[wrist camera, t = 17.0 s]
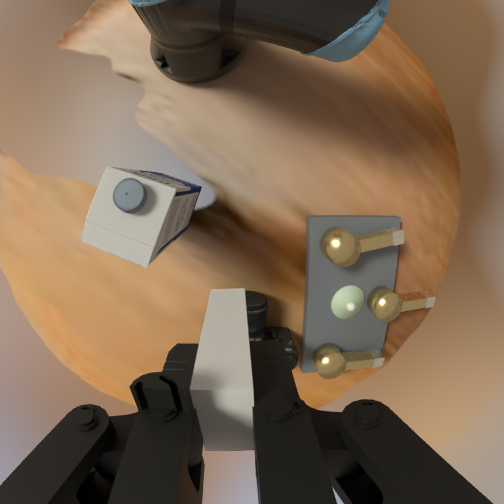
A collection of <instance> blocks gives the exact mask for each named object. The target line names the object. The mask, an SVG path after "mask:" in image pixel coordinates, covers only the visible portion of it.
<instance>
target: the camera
mask: <svg viewBox="0 0 504 504" xmlns="http://www.w3.org/2000/svg"><path fill="white" fill-rule="evenodd" d="M245 299H246V311H247V323H248V335H249V341H264V340H277V341H279V342H280V343H281V344H282V345H283V346H284V347H285V350H286V353H287V358H288V360H289V364H290V367H291V370H293V369H294V368H295V367H296V365H297V360H298V352H297V349H296V347H295V345H294V342H293V340H292V337H291V334H290V331H289V329H288V328H280V327H266V322H267V321H266V318H267V315H266V314H267V307H268V306H267V298H266V297H265V296H264V295H262V294H260V293H257V292H253V291H245Z"/></svg>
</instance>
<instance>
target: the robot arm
mask: <svg viewBox="0 0 504 504" xmlns="http://www.w3.org/2000/svg"><path fill="white" fill-rule="evenodd" d="M128 1H129V3H130V4H131V5H132V6H133V8H134V9H135V11H136V12H137V14H138V15H139V17H140V18H141V20H142V21H143V23H144V24H145V26H146V28H147V29H148V31H149V32H150V34H151V45H150V51H151V56H152V59H153V61H154V63H155V64H156V66H157V67H158V69H159V70H160V71H161V72H162V73H163V74H164V75H165V76H167V77H169V78H171V79H173V80H176V81H179V82H184V83H200V82H206V81H210V80H213V79H216V78H218V77H220V76H222V75H224V74H226V73H227V72H229V71H230V70H232V69H233V68H234V67H235V66H236V65H237V64H238V63H239V61H240V60H241V59H242V57H243V55H244V53H245V49H246V42H247V38H251V39H255V40H260V41H264V42H268V43H272V44H275V45H279V46H283V47H286V48H290V49H293V50H296V51H299V52H301V54H304V55H313V56H316V57H319V58H322V59H325V60H328V61H332V62H341V61H346V60H349V59H351V58H353V57H355V56H356V55H357V54H359V53H360V52H361V51H362V50H363V49H364V48H365V47H366V46H367V45H368V44H369V43H370V42H371V41H372V40H373V38H374V37H375V36H376V34H377V33H378V31H379V30H380V28H381V27H382V25H383V23H384V20H383V18H384V17H385V16H386V15H387V14H388V10H389V6H390V1H389V0H128ZM130 389H131V392H132V395H133V397H134V400H135V402H136V405H137V407H138V412H136V413H133V414H129V415H120V416H108V414H107V412H106V410H104V409H103V408H101V407H100V406H97V405H93V404H87V405H81V406H78V407H76V408H74V409H73V410H72V411H70V412H69V413H68V414H67V415H66V416H65V417H64V418H63V419H62V420H61V421H60V422H59V423H58V424H57V425H56V426H55V428H54V429H53V430H52V431H51V432H50V433H49V434H48V435H47V436H46V437H45V438H44V439H43V440H42V441H41V442H40V443H39V444H38V445H37V446H36V448H35V449H34V450H33V451H32V452H31V453H30V454H29V455H28V456H27V457H26V458H25V459H24V460H23V461H22V463H21V464H20V465H19V466H18V467H17V468H16V469H15V470H14V471H13V472H12V473H11V474H10V476H9V477H8V478H7V479H6V480H5V481H4V482H3V483H2V485H1V486H0V504H202V496H203V480H204V460H203V457H202V450H203V445H204V448H205V451H242V450H255V466H256V478H257V488H258V501H259V504H337V502H336V498H335V495H334V492H333V488H334V490H335V491H336V493H337V494H338V496H339V497H340V499H341V500H342V501H343V503H344V504H493V503H492V502H491V501H490V500H489V499H487V498H486V497H485V496H484V495H483V494H482V493H481V492H479V491H478V490H477V489H476V488H475V487H474V486H473V485H472V484H471V483H469V482H468V481H467V480H466V479H465V478H464V477H463V476H462V475H460V474H459V473H458V472H457V471H456V470H455V469H454V468H453V467H452V466H451V465H450V464H448V463H447V462H446V461H445V460H444V459H443V458H442V457H441V456H439V454H437V453H436V452H435V451H434V450H433V449H432V448H431V447H430V446H429V445H428V444H426V442H425V441H423V440H422V439H421V438H420V437H419V436H418V435H417V434H416V433H415V432H414V431H413V430H412V429H411V428H410V427H409V426H408V425H407V424H405V423H404V422H403V421H402V420H401V419H400V418H399V417H398V416H397V415H396V414H395V413H394V412H393V411H392V410H391V409H390V408H389V407H387V406H386V405H384V404H383V403H381V402H378V401H375V400H368V399H362V400H358V401H354V402H352V403H350V404H349V405H347V406H346V407H345V408H344V410H343V411H342V412H329V411H321V410H317V409H314V408H311V407H309V406H308V405H306V404H305V402H304V401H303V400H301V399H300V397H299V395H298V391H297V388H296V384H295V381H294V378H293V374H292V371H291V367H290V364H289V360H288V358H287V353H286V350H285V347H284V346H283V345H282V344H281V343H280V342H279V341H277V340H264V341H249V335H248V323H247V311H246V299H245V288H237V289H211V292H210V296H209V301H208V305H207V310H206V314H205V319H204V323H203V328H202V332H201V337H200V342H199V344H179V343H178V344H177V345H175V346H174V347H173V348H172V349H171V350H170V351H169V353H168V356H167V359H166V362H165V364H164V367H163V370H162V372H153V373H148V374H145V375H142V376H140V377H139V378H137V379H136V380H134V381H133V383H132V384H131V385H130ZM332 487H333V488H332Z"/></svg>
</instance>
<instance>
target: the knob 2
mask: <svg viewBox="0 0 504 504" xmlns="http://www.w3.org/2000/svg"><path fill="white" fill-rule="evenodd" d="M384 359H385V357H384V356H383V354H382V353H381V352H380V351H379V349H378V348H377V349H369V350H364V351H354V352H343V353H341V351H340V350H339V348H338V346H337V345H335V344H333V343H326V344H323V345H321V346H319V347H318V348H317V349H316V350H315V351H314V353H313V361H314V364H315V366H316V368H317V371H318V373H319V375H320V376H321V377H322V378H325V379H332V378H335V377H337V376H339V375H340V374H341V373H342V372H343V371H344V370H353V369H361V368H368V367H373V368H374V367H380V366H382V364H383V362H384Z"/></svg>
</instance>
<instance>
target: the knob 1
mask: <svg viewBox="0 0 504 504" xmlns="http://www.w3.org/2000/svg"><path fill="white" fill-rule="evenodd" d="M399 244H404V230H401V229H398V228H395V227H391V228H386V229H383V230H379V231H374V232H370V233H365V234H360V235H355V234H353V233H351V232H349V231H346V230H344V229H342V228H338V227H334V228H331V229H329V230H327V231H326V232H325V233H324V234H323V236H322V237H321V240H320V249H321V252H322V254H323V255H324V256H325V257H326V258H328V259H329V260H330V261H331V262H332V263H333V264H335V265H336V266H338V267H348V266H351V265H352V264H354V263H355V262H356V261H357V260H358V258H359V256H360V253H362V252H366V251H370V250H375V249H379V248H383V247H387V246H392V245H393V246H395V245H399Z"/></svg>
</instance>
